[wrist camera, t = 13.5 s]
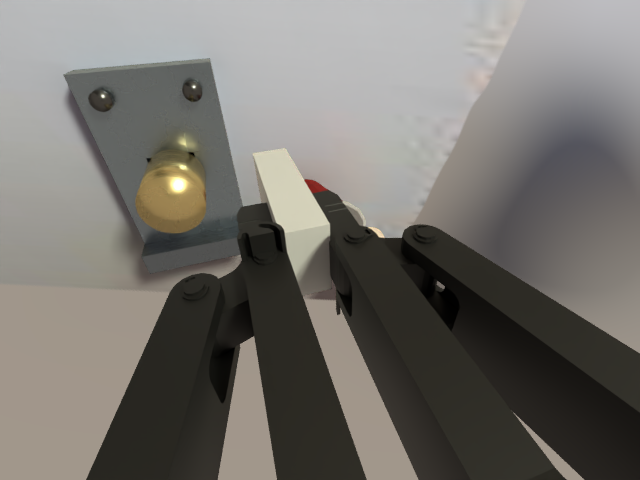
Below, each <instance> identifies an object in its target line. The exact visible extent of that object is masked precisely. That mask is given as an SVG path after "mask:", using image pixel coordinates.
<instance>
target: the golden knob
mask: <svg viewBox="0 0 640 480" xmlns="http://www.w3.org/2000/svg"><path fill="white" fill-rule="evenodd" d="M135 206H136V210H137V212H138V214H139V216H140V217H141V219H142V220H143V221H144V222H145V223H146V224H147V225H149V226H150V227H152V228H154V229H156V230H158V231H161V232H165V233H182V232H186V231H189V230H191V229H193V228H195V227H196V226H197V225H199V224H200V222H201V221H202V220H203V218H204V216H205V213H206V174H205V170H204V168H203V166H202V164H201V163H200V161H199V160H198V159H197V158H196V157H194V156H193V155H191V154H190V153H188V152H185V151H182V150H177V149H168V150H163V151H160V152H158V153H157V154H155V155H154V156H153V157H152V158H151V159H150V160H149V162H148V165H147V167H146V170H145V173H144V176H143V178H142V181H141V184H140V187H139V190H138V192H137V195H136V200H135Z"/></svg>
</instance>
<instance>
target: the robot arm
mask: <svg viewBox="0 0 640 480" xmlns="http://www.w3.org/2000/svg"><path fill="white" fill-rule="evenodd" d="M253 158H254V163H255V169H256V175H257V180H258V186H259V191H260V197H261V202H262V203H261V204H255V205H250V206H244V207H241V208H240V210H239V211H238V213H237V215H236V216H237V222H238V228H239V233H238V236H237V242H238V246H239V250H240V254H241V258H242V261H241V264H240V265H239V266H238V267H237V268H236V269H235V270H234V271H233V272H231V273H229V274H227V275H226V276H223V277H221V278H219V279H218V278H217V277H216V276H214V275H211V274H205V273H200V274H195V275H191V276H189V277H187V278H184V279H182V280H181V281H180V282H178V283H177V284H176V285H175V286H174V287H173V289H172V290H171V292H170V293H169V296H168V298H167V300H166V302H165V305H164V307H163V309H162V312H161V314H160V316H159V318H158V321H157V322H156V325H155V327H154V329H153V331H152V334H151V336H150V338H149V340H148V343H147V345H146V347H145V349H144V352H143V354H142V356H141V359H140V360H139V363H138V365H137V367H136V369H135V372H134V374H133V376H132V378H131V381H130V383H129V385H128V387H127V390H126V392H125V395H124V396H123V399H122V401H121V403H120V405H119V408H118V410H117V412H116V414H115V416H114V419H113V421H112V423H111V425H110V428H109V430H108V432H107V434H106V437H105V439H104V441H103V443H102V446H101V448H100V450H99V452H98V454H97V457H96V459H95V461H94V464H93V466H92V468H91V470H90V472H89V475H88V477H87V479H86V480H218V473H219V468H220V462H221V456H222V449H223V444H224V439H225V433H226V427H227V421H228V415H229V410H230V404H231V398H232V392H233V386H234V380H235V375H236V368H237V362H238V357H239V351H240V344H241V343H243V342H244V341H246V340H248V339H250V338H251V337H253V336H254V337H255V343H256V350H257V356H258V362H259V368H260V375H261V380H262V387H263V394H264V399H265V406H266V412H267V418H268V425H269V431H270V438H271V444H272V450H273V457H274V462H275V469H276V475H277V480H366V477H365V474H364V471H363V468H362V465H361V462H360V459H359V457H358V454H357V451H356V448H355V445H354V442H353V439H352V437H351V434H350V431H349V428H348V425H347V422H346V419H345V416H344V414H343V411H342V408H341V405H340V402H339V399H338V396H337V393H336V391H335V388H334V385H333V382H332V379H331V376H330V374H329V371H328V368H327V365H326V362H325V359H324V356H323V353H322V350H321V348H320V345H319V342H318V339H317V336H316V333H315V330H314V328H313V325H312V322H311V319H310V316H309V313H308V311H307V308H306V305H305V302H304V299H303V296H305V295H309V294H313V293H317V292H321V291H325V290H329V289H332V280H333V282H334V284H335V286H336V310H337V315H338V314H340V308H341V310H342V312H343V314H344V316H345V319H346V321H347V323H348V325H349V327H350V330H351V332H352V334H353V336H354V338H355V341H356V343H357V345H358V347H359V349H360V352H361V354H362V356H363V358H364V360H365V363H366V365H367V367H368V369H369V371H370V374H371V376H372V378H373V380H374V382H375V384H376V387H377V389H378V391H379V393H380V396H381V398H382V400H383V402H384V404H385V407H386V409H387V411H388V413H389V415H390V418H391V420H392V422H393V424H394V426H395V428H396V431H397V433H398V435H399V437H400V440H401V442H402V444H403V446H404V448H405V451H406V453H407V455H408V457H409V459H410V461H411V464H412V466H413V468H414V470H415V472H416V475H417V477H418V479H419V480H566V479H565V478H564V477H563V476H562V475H561V474H560V473H559V472H558V470H556V468H555V467H554V466H553V465H552V463H551V462H550V460H549V459H548V458H547V456H546V455H545V454H544V452H543V451H542V450H541V449H540V447H539V446H538V445H537V443H536V442H535V441H534V440H533V438H532V437H531V435H530V434H529V433H528V432H527V430H526V429H525V428H524V427H523V425H522V424H521V422H520V421H519V420H518V418H517V417H516V416H515V415H514V413H515V414H516V415H517V416H518V417H519V418H520V419H521V420H522V421H523V422H524V423H525V424H527V425H528V426H529V427H530V428H531V429H532V430H533V431H534V432H535V433H536V434H537V435H538V436H539V437H540V438H541V439H542V440H543V441H544V442H545V443H547V444H548V445H549V446H550V447H551V448H552V449H553V450H554V451H555V452H556V453H557V454H558V455H559V456H560V457H561V458H562V459H563V460H564V461H565V462H567V463H568V464H569V465H570V466H571V467H572V468H573V469H574V470H575V471H576V472H577V473H578V474H579V475H580V476H581V477H582V478H584V480H640V353H638V352H636V351H635V350H633V349H632V348H630V347H628V346H627V345H625V344H623V343H622V342H620V341H618V340H617V339H615V338H614V337H612V336H611V335H609V334H607V333H606V332H604V331H603V330H601V329H599V328H598V327H596V326H595V325H593V324H591V323H590V322H588V321H586V320H585V319H583V318H582V317H580V316H578V315H577V314H575V313H574V312H572V311H570V310H569V309H567V308H566V307H564V306H562V305H561V304H559V303H557V302H556V301H554V300H553V299H551V298H549V297H548V296H546V295H544V294H543V293H541V292H540V291H538V290H537V289H535V288H533V287H532V286H530V285H529V284H527V283H525V282H523V281H522V280H521V279H519V278H517V277H516V276H514V275H512V274H511V273H509V272H508V271H506V270H504V269H503V268H501V267H500V266H498V265H496V264H495V263H493V262H492V261H490V260H488V259H487V258H485V257H484V256H482V255H480V254H479V253H477V252H475V251H474V250H472V249H471V248H469V247H467V246H466V245H464V244H463V243H461V242H459V241H458V240H456V239H454V238H453V237H451V236H450V235H448V234H447V233H445V232H443V231H442V230H440V229H438V228H436V227H433V226H429V225H413V226H409V227H408V228H407V229H405V230H404V232H403V236H402V238H381V237H378V235H377V234H376V233H375V232H374V231H373V230H372V229H370V228H368V227H365V226H360V225H359V224H358V222H357V221H356V220H355V218H354V217H353V215H352V214H351V213H350V211H349V210H348V209H347V207H346V206H345V204H344V203H343V202H342V200H341V199H340V197H339V196H338V195H337V194H335V193H333V192H331V191H329V190H327V191H321V192H316V193H311V191H310V189H309V188H308V186H307V184H306V183H305V181H304V179H303V177H302V176H301V174H300V172H299V171H298V169H297V167H296V165H295V164H294V162H293V160H292V159H291V157H290V155H289V154H288V152H287V150H286V148H284V149H277V150H271V151H264V152H257V153H253ZM437 281H439V282H440V283H441V284H443V285H444V286H445V289H442V288H440V287H439V286H437ZM511 410H512V411H513V412H514V413H513V412H512V411H511Z"/></svg>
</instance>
